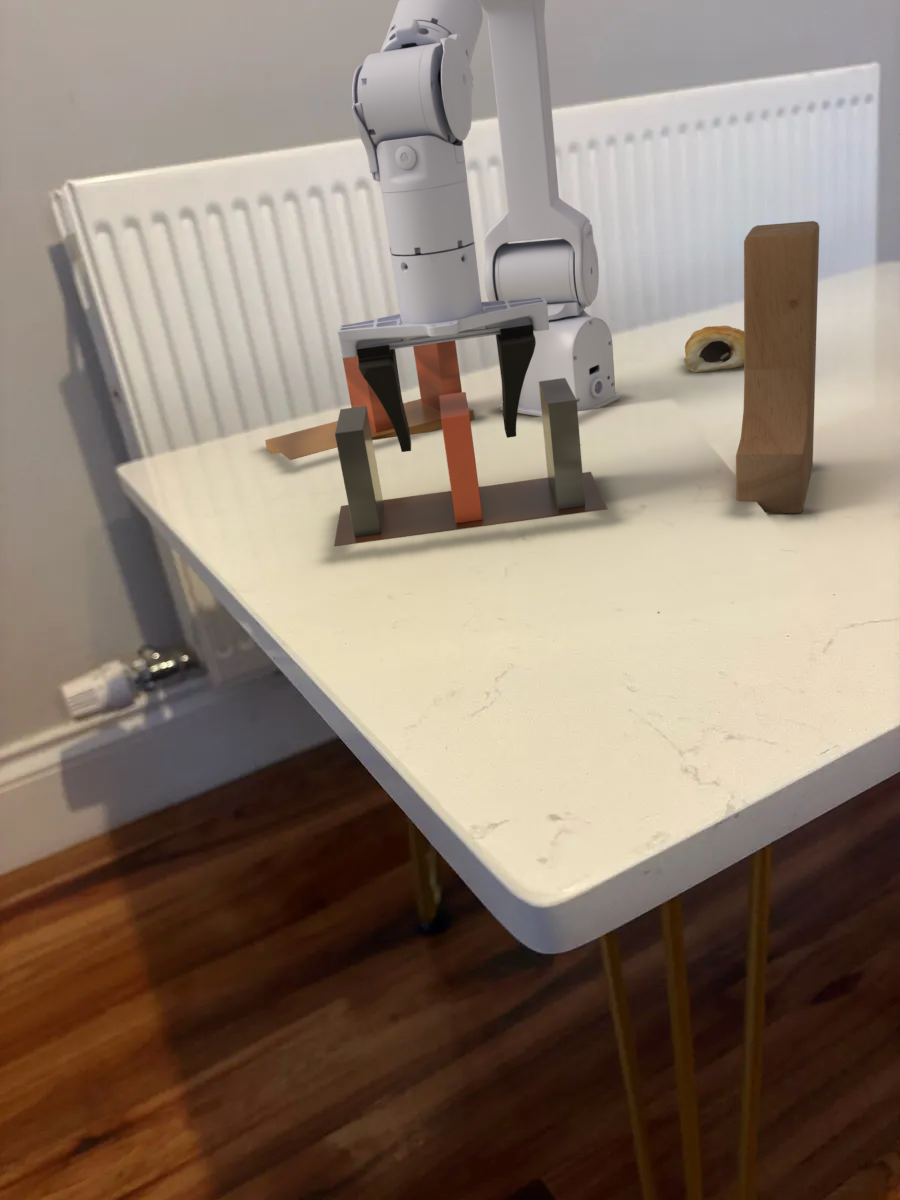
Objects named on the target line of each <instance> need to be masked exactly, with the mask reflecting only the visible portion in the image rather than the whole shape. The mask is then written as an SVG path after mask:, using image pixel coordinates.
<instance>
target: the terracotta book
mask: <svg viewBox="0 0 900 1200" xmlns="http://www.w3.org/2000/svg"><path fill="white" fill-rule="evenodd" d="M439 399H440V411H441V422H442V428H441V429H442V435H443V442H444V443H443V444H444V449H445V457H446V463H447V471H448V478H449V486H450V491H451V493H452V500H453V507H454V514H455V521H456V523H464V522H471V521H478V520H483V516H482V508H481V500H480V493H479V487H480V486H479V477H478V470H477V463H476V455H475V447H474V446H475V445H474V439H473V429H472V424H471V420H470V415H469V409H468V407H469V404H468V397H467V392H465V391H462V392H461V393H454V394H447V395H440V396H439Z"/></svg>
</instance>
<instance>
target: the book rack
mask: <svg viewBox="0 0 900 1200" xmlns="http://www.w3.org/2000/svg"><path fill="white" fill-rule="evenodd" d="M412 347H413V354H414V361H415V368H416V375H417V376H416V377H417V382H418V388H419V394H420V395H419V396H420V398H417V399H414V400H411V401H407V402H403V405H404V409H405V413H406V417H407V421H408V426H409V431H410V436H412V435H413V436H414V435H420V434H426V433H429V432H434V431H437V430H441V429H442V422H441V411H440V399H439V396H440V395H447V394H454V393H461V392H463V389H462V381H461V373H460V366H459V359H458V352H457V351H458V350H457V343H456V340H455V341H448V342H441V343H433V344H426V345H419V346H412ZM342 362H343V363H342V364H343V369H344V373H345V380H346V386H347V391H348V396H349V401H350V408H354V407H361V406H367V412H368V418H369V423H370V429H371V435H372V441H376V440H384V439H392V438H398V437H397V435H396V432H395V430H394V427H393V425H392V423H391V421H390V419H389V417H388V415H387V413H386V411H385V409H384V407H383V405H382V404H381V402H380V400H379V399H378V397H377V396H376V394H375V393H374V391H373V390H372V388H371V387H370V385H369V384H368V383H367V381H366V380H365V379H364V377H363V375H362V374H361V372H360V370H359V367H358V366H359V361H358V355H357V356H356V357H350V358H342ZM468 409H469V415H470V421H474V420H475V412H474V409H473V408H471V407H469V406H468ZM337 422H338V420H335V421H332V422H328V423H324V424H321V425H317V426H313V427H309V428H305V429H302V430H298V431H294V432H290V433H287V434H283V435H279V436H275V437H271V438H267V439H265V440H264V442H265V447H266V450H267V451H268V452H270V453H271V454H272V455H277V454H281V455H283V456H284V457H285V458H287V459H288V460H289V461H293V460H296V459H300V458H304V457H307V456H311V455H314V454H318V453H322V452H325V451H329V450H332V449H336V448H337V443H336V437H335V431H336V427H337ZM337 449H338V448H337Z"/></svg>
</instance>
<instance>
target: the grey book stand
mask: <svg viewBox="0 0 900 1200" xmlns="http://www.w3.org/2000/svg"><path fill="white" fill-rule="evenodd" d="M539 389H540V399H541V410H542V417H541V419H542V420H541V421H542V429H543V431H542V432H543V440H544V451H545V452H544V453H545V462H546V472H547V477H542V478H536V479H534V478H533V479H527V480H519V481H511V482H505V483H498V484H497V483H496V484H492V485H484V486H483V485H482V486H479V493H480V500H481V508H482V516H483V520H478V521H471V522H464V523H456V521H455V514H454V507H453V500H452V493H451V490H448V491H447V490H446V491H440V492H432V493H425V494H418V495H411V496H404V497H396V498H395V497H394V498H388V499H383V493H382V492H383V491H382V486H381V482H380V475H379V470H378V464H377V458H376V453H375V447H374V440H372V435H371V429H370V423H369V418H368V412H367V406H361V407H354V408H352V407H347V408H341V409H340V410H339V414H338V419H337V421H338V422H337V427H336V431H335V437H336V443H337V452H338V459H339V464H340V468H341V473H342V474H341V475H342V478H343V484H344V490H345V495H346V500H347V504H345V505H341V506H340V508H339V515H338V521H337V525H336V526H337V527H336V531H335V536H334V537H335V538H334V543H333V547H341V546H348V545H355V544H363V543H371V542H377V541H386V540H392V539H399V538H400V539H401V538H407V537H415V536H422V535H428V534H430V535H431V534H436V533H443V532H450V531H458V530H466V529H475V528H481V527H487V526H495V525H504V524H511V523H517V522H525V521H532V520H533V521H534V520H540V519H547V518H553V517H562V516H563V517H564V516H571V515H576V514H584V513H591V512H592V513H593V512H598V511H607V510H608V507H607V504H606V502H605V500H604V498H603V496H602V493H601V491H600V489H599V487H598V485H597V482H596V480H595V478H594V476H593V474H592V472H591V471H586V472H585V471H584V472H583V463H582V449H581V440H580V439H581V437H580V425H579V412H578V410H577V400H576V398H575V396H574V394H573V392H572V390H571V388H570V386H569V384H568V382H567V381H566V379H565V378H560V379H553V380H546V381H540V382H539Z"/></svg>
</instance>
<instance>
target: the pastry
mask: <svg viewBox="0 0 900 1200" xmlns="http://www.w3.org/2000/svg"><path fill="white" fill-rule="evenodd" d="M684 353H685V354H684V355H685V356H684V359H683V362H684V365H685V366H686V368H687V369H688V371H691V372H693V373H699V372H703V373H704V372H712V371H716V370H719V369H727V370H728V369H734V368H738V367H741V366H742V367H744V330H742V329H740V328H737V327H732V326H730V325H713V326H705V327H702V328H700V329H698V330H695V331H693V332H692V334H691V335H690V337H689V338H688V339H687V340H686V342H685V345H684Z"/></svg>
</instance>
